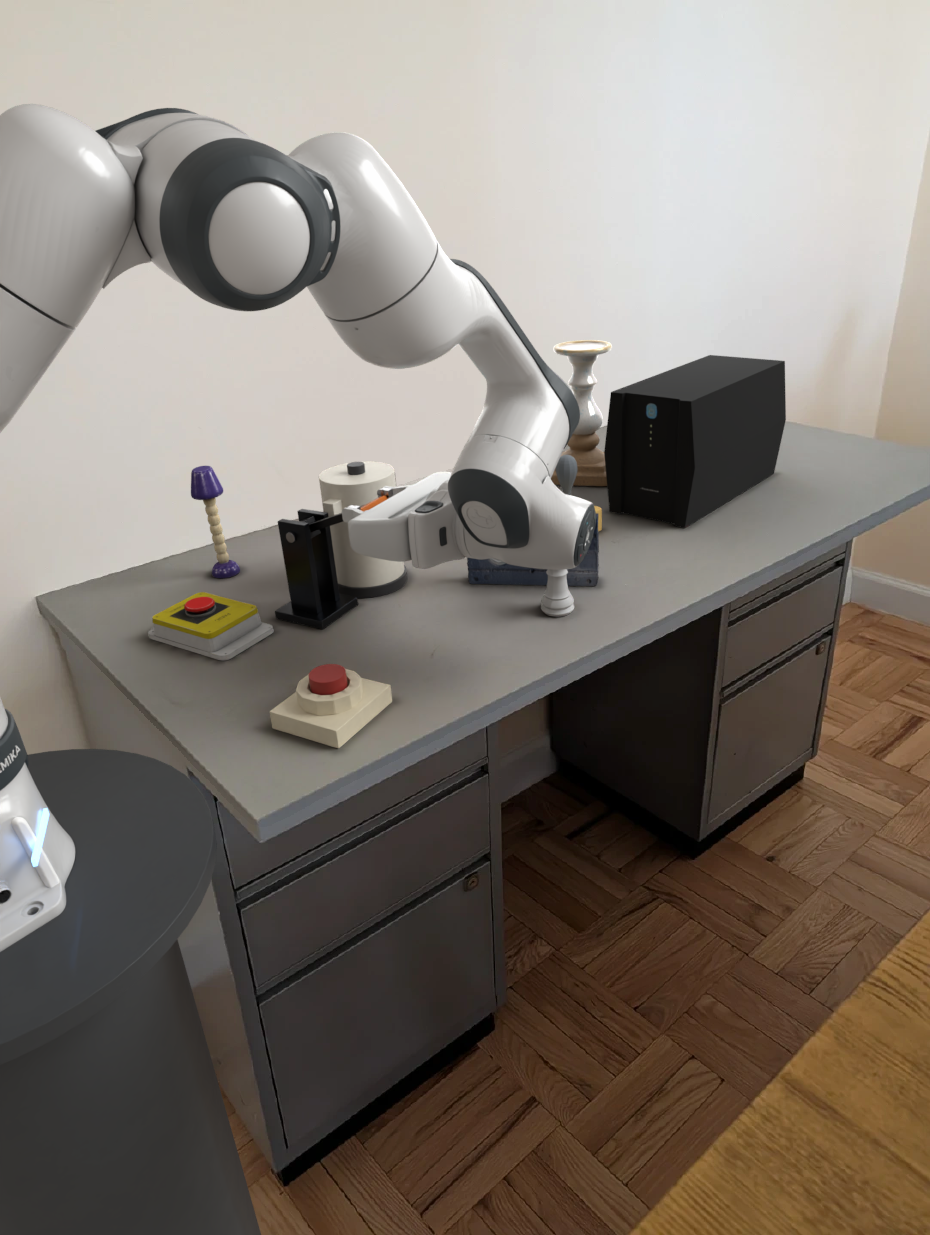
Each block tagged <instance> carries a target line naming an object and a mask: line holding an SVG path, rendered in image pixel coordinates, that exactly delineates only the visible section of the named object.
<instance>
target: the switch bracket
mask: <svg viewBox="0 0 930 1235" xmlns="http://www.w3.org/2000/svg"><path fill="white" fill-rule="evenodd" d="M312 516H314V518H315V521H319V520H322V519H325V518H327V517H329V516H328V513H327V512H323V511H319V510H314V509H306V508H300V509H298V510H297V518H298V520H292V519H288V518H287V519H286V518H281V519H279V520H277V527H278V533H279V539H280V545H281V549H282V550H281V551H282V557H283V562H284V568H285V575H286V582H287V586H288V592H289V598H290V601H288V602H287V603H286V604H284V605H282V606H281V607H279V608H277V609H276V610H274V615H275V619H276V620H280V621H285V622H287V623H288V622H289V623H293V624H297V625H301V626H305V627H310V628H314V629H319V630H324V629H326V628H327V627H328V626H330V625H331V624H332V623H334V622H335V621H337V620H339V619H340V618H341V617H343V616H344V615H346V614H347V613H349V612H350V611H351V610H353V609H354V608H356V607H357V606H358V605H359V600H358V598H357V597H353V596H349V595H344V594H339V588H338V581H337V574H336V566H335V559H334V552H333V545H332V538H331V530H330V526H328V527H325V528H322V529H320V532H321V533H320V534H318V535H316V536H315V537H313V538H311V534H310V527H309V523H306V522H300V521H301V520H304V519H307V518H309V517H312Z"/></svg>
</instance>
